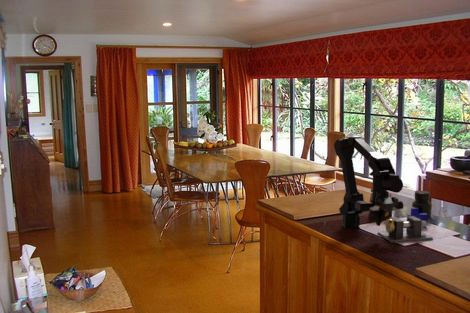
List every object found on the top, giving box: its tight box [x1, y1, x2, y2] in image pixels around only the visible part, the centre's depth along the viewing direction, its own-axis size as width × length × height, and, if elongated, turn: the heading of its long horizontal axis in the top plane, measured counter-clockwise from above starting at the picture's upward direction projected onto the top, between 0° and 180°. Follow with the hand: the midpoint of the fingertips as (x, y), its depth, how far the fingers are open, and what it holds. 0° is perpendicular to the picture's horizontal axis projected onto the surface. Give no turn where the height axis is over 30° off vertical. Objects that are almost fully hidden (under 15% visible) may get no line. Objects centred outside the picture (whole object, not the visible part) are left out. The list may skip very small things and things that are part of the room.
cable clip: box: [406, 207, 428, 223], centre depth 229 cm, size 12×4×6 cm, turn 1°
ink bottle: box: [411, 190, 433, 220], centre depth 240 cm, size 10×9×12 cm
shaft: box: [384, 219, 428, 233], centre depth 209 cm, size 16×6×6 cm, turn 100°
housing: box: [377, 216, 434, 243], centre depth 209 cm, size 18×12×8 cm, turn 101°
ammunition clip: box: [367, 192, 393, 220], centre depth 238 cm, size 11×2×12 cm, turn 89°
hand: (378, 225), depth 206 cm, fingers closed
